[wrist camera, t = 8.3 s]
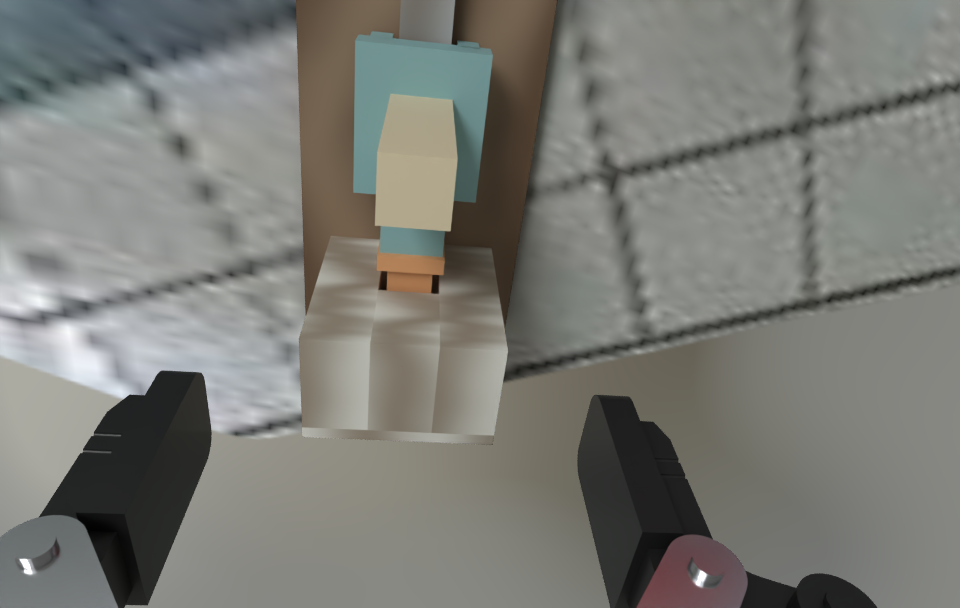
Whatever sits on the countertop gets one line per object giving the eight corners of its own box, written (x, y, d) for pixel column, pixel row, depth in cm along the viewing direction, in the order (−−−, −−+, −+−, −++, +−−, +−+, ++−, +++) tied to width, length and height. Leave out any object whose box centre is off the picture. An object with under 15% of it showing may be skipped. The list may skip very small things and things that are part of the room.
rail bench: (588, -224, 27) (669, -288, 18) (503, 321, 41) (522, 446, 32) (292, -270, 26) (211, -366, 16) (308, 309, 40) (269, 435, 30)
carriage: (488, 43, 31) (510, 103, 22) (469, 217, 36) (480, 325, 27) (361, 30, 30) (330, 85, 21) (358, 208, 35) (331, 316, 26)
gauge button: (444, 231, 34) (444, 260, 31) (434, 329, 37) (434, 363, 34) (381, 226, 33) (376, 255, 31) (377, 325, 37) (373, 359, 34)
